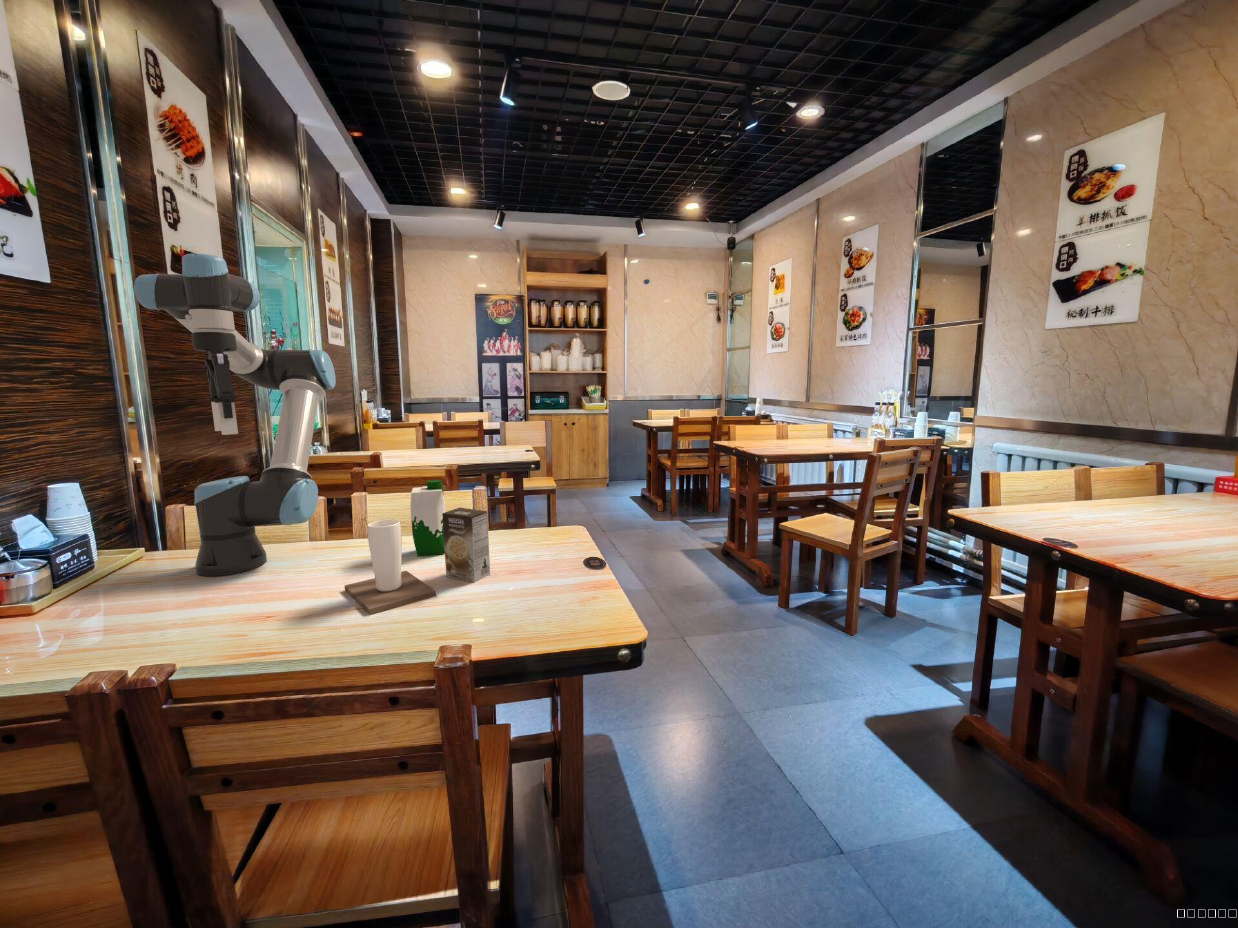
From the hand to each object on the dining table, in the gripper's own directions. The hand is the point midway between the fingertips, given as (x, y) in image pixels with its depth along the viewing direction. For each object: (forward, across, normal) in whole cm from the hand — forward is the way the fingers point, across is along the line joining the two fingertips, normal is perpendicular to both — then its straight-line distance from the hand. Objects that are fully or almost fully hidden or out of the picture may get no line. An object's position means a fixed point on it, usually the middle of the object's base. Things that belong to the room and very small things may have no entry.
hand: (226, 432), depth 117 cm
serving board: (+37, +23, +24) cm, 50 cm away
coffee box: (+37, +25, +42) cm, 61 cm away
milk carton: (+37, 0, +43) cm, 57 cm away
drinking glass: (+36, +23, +24) cm, 49 cm away
